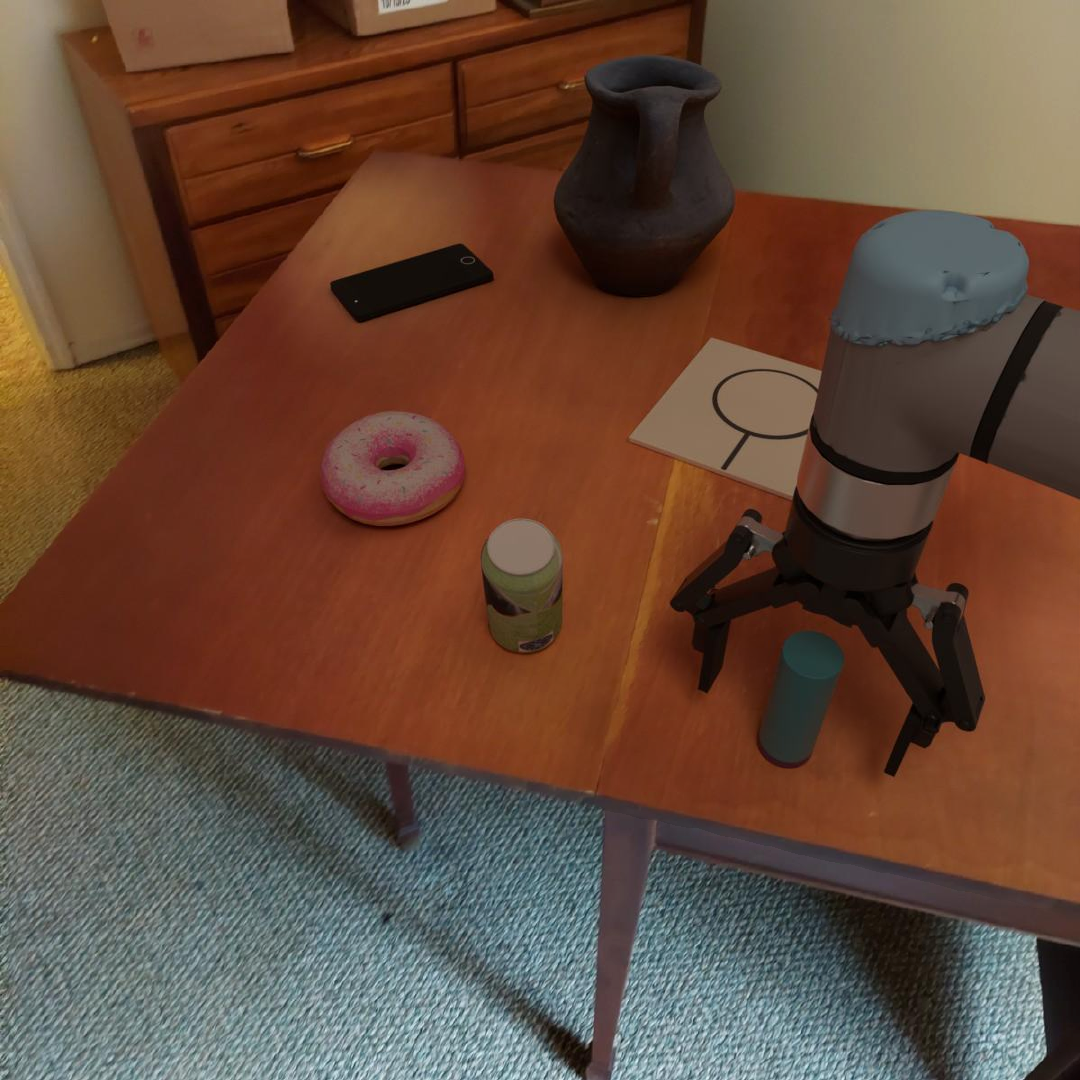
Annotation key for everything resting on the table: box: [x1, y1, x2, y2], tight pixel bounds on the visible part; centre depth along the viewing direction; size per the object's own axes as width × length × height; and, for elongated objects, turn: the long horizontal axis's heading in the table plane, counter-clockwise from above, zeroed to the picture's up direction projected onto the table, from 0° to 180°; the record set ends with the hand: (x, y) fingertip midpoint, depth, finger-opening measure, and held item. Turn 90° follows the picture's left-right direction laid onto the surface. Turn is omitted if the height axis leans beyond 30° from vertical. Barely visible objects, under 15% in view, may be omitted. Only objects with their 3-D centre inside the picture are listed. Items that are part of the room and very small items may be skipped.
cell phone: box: [329, 242, 495, 323], centre depth 115 cm, size 9×18×1 cm, turn 120°
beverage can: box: [480, 518, 564, 654], centre depth 74 cm, size 6×7×12 cm
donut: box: [319, 410, 466, 527], centre depth 89 cm, size 14×13×5 cm
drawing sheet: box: [628, 336, 822, 502], centre depth 97 cm, size 20×20×1 cm
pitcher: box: [553, 54, 736, 297], centre depth 107 cm, size 21×22×25 cm
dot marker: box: [756, 630, 845, 769], centre depth 66 cm, size 4×4×11 cm
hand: (798, 717), depth 68 cm, fingers open, 13 cm apart
